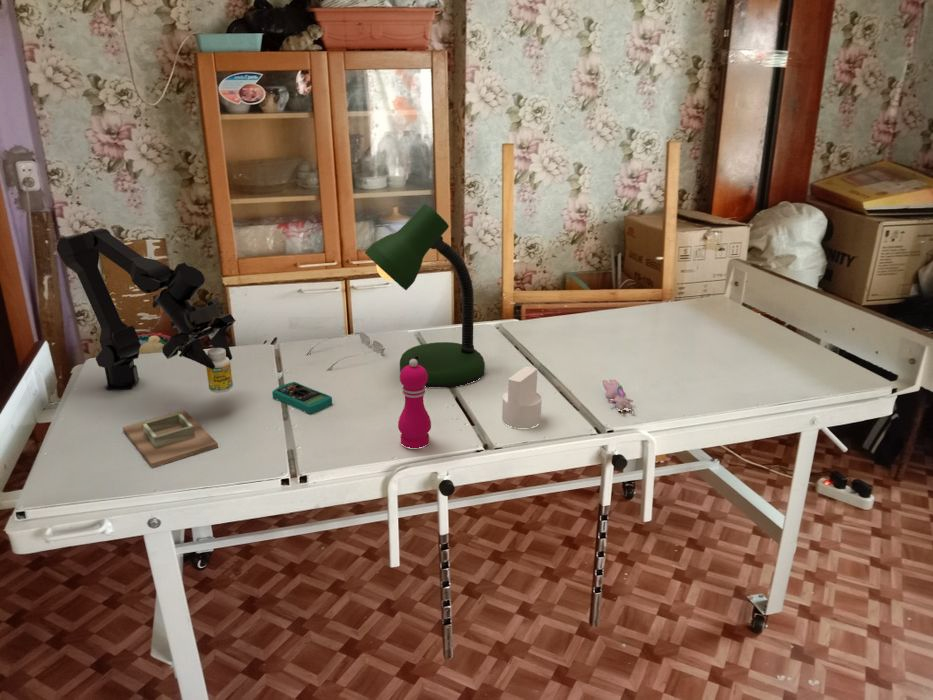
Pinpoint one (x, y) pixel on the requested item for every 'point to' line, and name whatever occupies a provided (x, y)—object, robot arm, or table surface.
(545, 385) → the table surface
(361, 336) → the eyeglasses
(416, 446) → the pepper mill
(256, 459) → the table surface
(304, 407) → the digital multimeter
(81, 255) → the robot arm
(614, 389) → the rabbit figure
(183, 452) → the bottle holder
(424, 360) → the desk lamp
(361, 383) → the table surface
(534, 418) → the cylinder with rectangular tab
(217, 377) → the supplement bottle
